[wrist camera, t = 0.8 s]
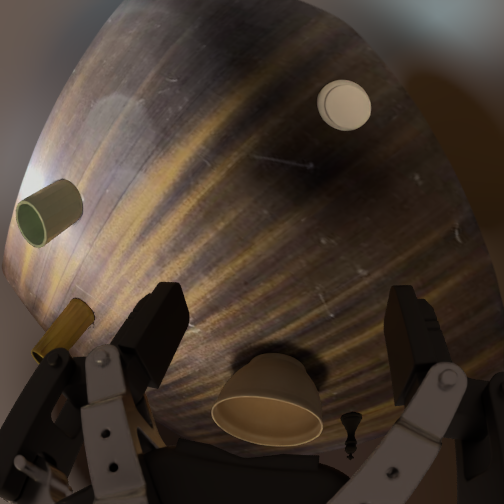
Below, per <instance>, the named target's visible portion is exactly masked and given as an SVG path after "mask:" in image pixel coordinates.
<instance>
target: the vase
mask: <svg viewBox="0 0 504 504" xmlns="http://www.w3.org/2000/svg"><path fill="white" fill-rule="evenodd" d="M93 322H94V314H93V312H92V310H91V309H90V308H89V306H88V305H87V304H85V303H84V302H83V301H81V300H79V299H72V300H71V301H70V303H69V304H68V305H67V307H66V308H65V309H64V310H63V312H62V313H61V314H60V315H59V317H58V318H57V319H56V320H55V321H54V323H53V324H52V325H51V327H50V328H49V329H48V330H47V332H46V333H45V334H44V336H43V337H42V338H41V340H40V341H39V342H38V343H37V345H36V346H35V347H34V348H33V349H32V351H31V354H32V356H33V358H34V359H35V360H36V362H37V363H38V364H40V363H41V361H42V360H43V358H44V357H45V355H46V354H47V353H48V352H50V351H51V350H53V349H55V348H65V349H67V350H68V351H69V349H70V348H71V347H72V346H73V345H74V344H75V343H76V341H77V340H78V339H79V338H80V337H81V336H82V334H83V333H84V332H85V331H86V329H87V328H88V327H89V326H90V325H91V324H92V323H93Z"/></svg>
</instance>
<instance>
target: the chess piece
mask: <svg viewBox="0 0 504 504" xmlns="http://www.w3.org/2000/svg"><path fill="white" fill-rule="evenodd" d="M361 419H362V415H361V414H359V413H347V414H345V415H343V416H342V417H341V421H342V424H343V425H344V426H345V429H346V430H347V433H348V438H347V440H346V442H345V445H346V448H345V451H346V453H348V454H350V455H349V456H347V458H349V459H350V460H351V459H352V458H354V457H353V456H352V453H354V452H355V451H356V449H357V447H356V444H357V441H356V439H355V436H354V435H355V431H356V429H357V427H358V425H359V423H360V421H361Z"/></svg>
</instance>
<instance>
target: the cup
mask: <svg viewBox="0 0 504 504" xmlns="http://www.w3.org/2000/svg"><path fill="white" fill-rule="evenodd" d="M81 214H82V200H81V197H80V194H79V192H78V190H77V189H76V187H75V186H74V185H73V184H72V183H71V182H69V181H67V180H58V181H56V182H54V183H52V184H50V185H48V186H47V187H45V188H43V189H41V190H39V191H38V192H36V193H34V194H32V195H31V196H29V197H27V198H25V199H24V200H22V201H21V202H20V203H18V205H17V208H16V220H17V224H18V227H19V229H20V231H21V233H22V235H23V237H24V238H25V239H26V240H27V242H28V243H29V244H31V245H32V246H33V247H37V248H41V247H43V246H45V245H46V244H47V243H48V242H50V241H51V240H52V239H54V238H55V237H56V236H58V235H59V234H60V233H61V232H63V231H64V230H65V229H67V228H68V227H70V226H71V225H72V224H74V223H75V222H76V221H77V220H78V219H79V218H80V217H81Z"/></svg>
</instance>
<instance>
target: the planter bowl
mask: <svg viewBox="0 0 504 504" xmlns="http://www.w3.org/2000/svg"><path fill="white" fill-rule="evenodd" d="M211 413H212V417H213V419H214V421H215V422H216V424H217V425H218V426H219V427H220V428H222V429H223V430H224V431H226V432H227V433H229V434H231V435H233V436H235V437H237V438H240V439H242V440H245V441H248V442H252V443H256V444H261V445H268V446H294V445H300V444H304V443H307V442H309V441H312V440H313V439H315V438H317V437H318V436H319V435H320V433H321V432H322V429H323V420H322V407H321V401H320V396H319V393H318V391H317V389H316V386H315V385H314V383H313V381H312V380H311V378H310V377H309V376H308V374H307V373H306V370H305V367H304V366H303V364H302V363H301V362H299V361H298V360H297V359H295V358H293V357H291V356H288V355H285V354H279V353H266V354H261V355H258V356H256V357H255V358H253V359H252V360H251V361H250V363H249V364H247V365H246V366H244V367H242V368H241V369H240V370H238V371H237V372H236V373H235V374H234V375H233V376H232V377H231V378H230V379H229V380H228V381H227V383H226V384H225V385H224V387H223V389H222V390H221V392H220V394H219V396H218V399H217V400H216V402H215V403H214V405H213V408H212V412H211Z"/></svg>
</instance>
